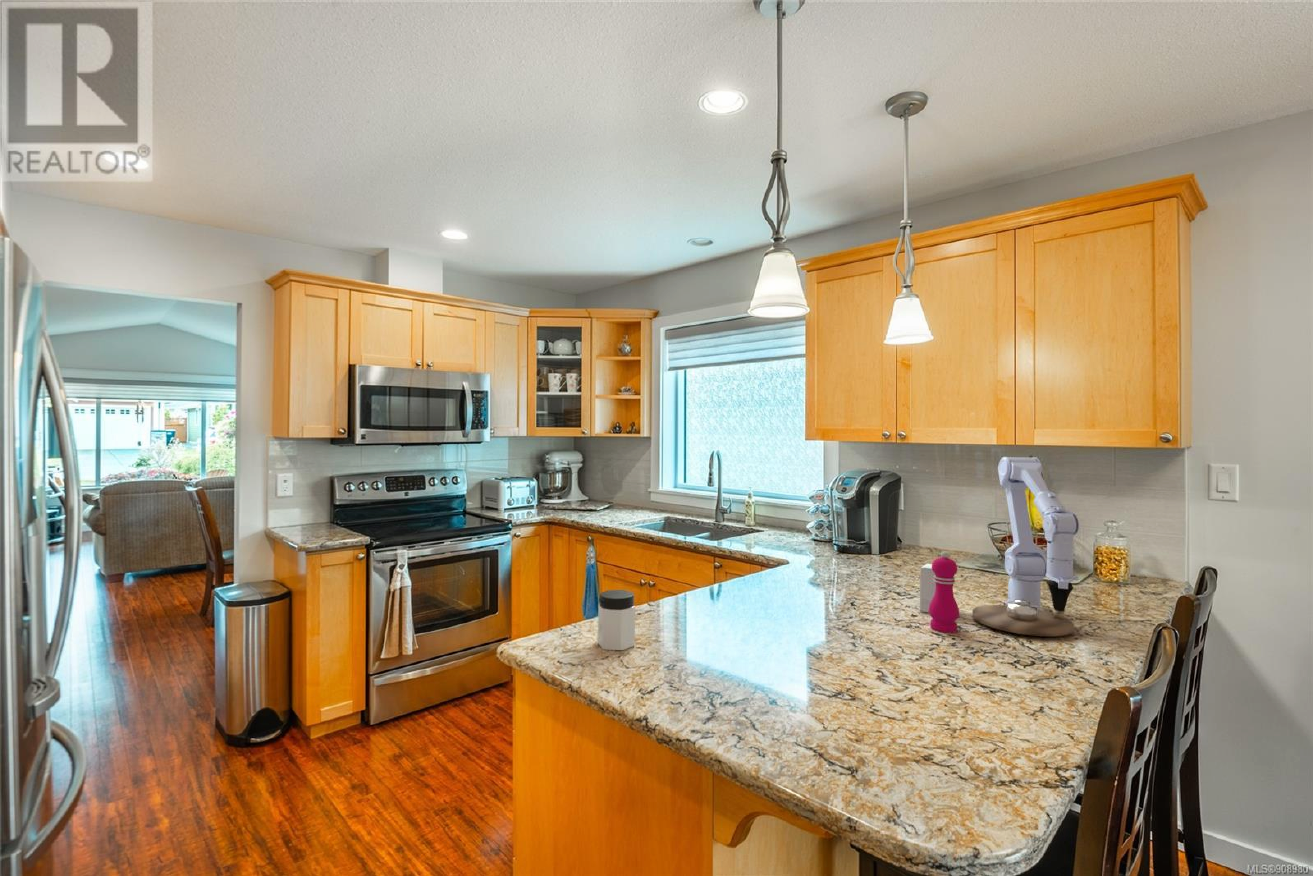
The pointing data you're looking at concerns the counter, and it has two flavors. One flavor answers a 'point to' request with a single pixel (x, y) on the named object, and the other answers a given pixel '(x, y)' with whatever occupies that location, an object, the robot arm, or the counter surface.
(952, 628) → the pepper mill
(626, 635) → the jar
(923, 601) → the supplement box
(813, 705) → the counter surface
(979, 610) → the turntable top
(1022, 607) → the aluminium cover
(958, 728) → the counter surface
